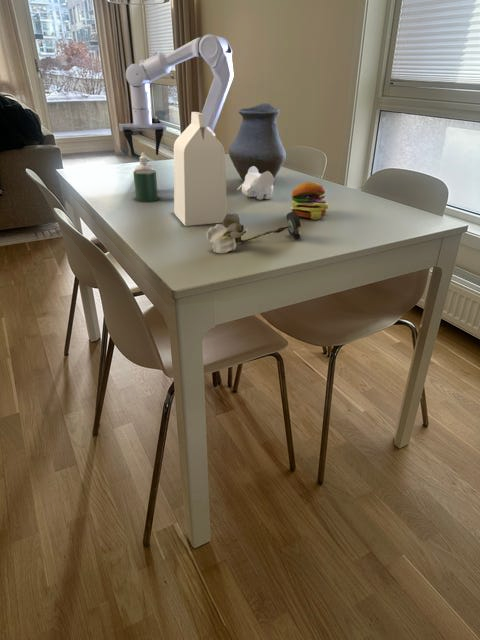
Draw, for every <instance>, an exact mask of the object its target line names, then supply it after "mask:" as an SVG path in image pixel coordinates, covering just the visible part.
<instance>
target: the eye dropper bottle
mask: <svg viewBox="0 0 480 640" xmlns="http://www.w3.org/2000/svg"><path fill="white" fill-rule="evenodd" d="M138 158H139V160H138V161H139V164H138V165H136V166H135V168H134V171H135V170H140V169H151V170H154V167H153V166H152V165H150V164H148V157H147V156H146V155H145V152H141V156H139V157H138Z"/></svg>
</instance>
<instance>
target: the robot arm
mask: <svg viewBox="0 0 480 640" xmlns="http://www.w3.org/2000/svg"><path fill="white" fill-rule="evenodd" d="M193 58H202V59H203V60H204V61H205V62H206V64H207V65H208V67H209V69H210V70H211V73H212V74H213V80H212V82H211V84H210V87H209V90H208V93H207V96H206V99H205V103H204V105H203V108H202V110H201V113H202V114H204V121H205V127H206V128H207V127H209V128H210V129H211V130H212V131H213V132H214V131H215V129H216V125H217V123H218V121H219V117H220V114H221V112H222V109H223V107H224V104H225V101H226V99H227V96H228V93H229V90H230V87H231V85H232V82H233V81H234V80H233V79H234V66H233V49H232V47H231V45H230V42H229V41H228V40H227V39H226V37H224V36H222V35H214V34H212V33H209V34H205V35H203V36H200V37H196V38H195V39H193V40H191V41H189V42H187V43H185V44H183V45H182V46H180V47H178V48H176V49H174V50H172V51H171V52H169V53H167V54H165V53H164V52H158V51H155V52H153V53H152V56H150V57H148V58H146V59H140V60H139V63H138V64H137V63H131V64H130V65H129V66H128V67H127V68H126V70H125V78H126V79H125V80H126V81H127V82H128V84H129V87H130V98H131V99H130V100H131V111H132V122H131V123H129V122H128V123H119V124H118V125H119V127H118V128H119V132H123V135H124V137H125V139H126V141H127V143H128V145H129V149H130V152H131V156H135V150H134V149H135V148H134V143H133V133H132V132H135V131H137V132H138V131H139V132H140V131H141V132H142V131H143V132H145V131H148V132H149V131H151V132H153V131H154V137H155V138H154V139H155V155H156V156H159V152H160V151H159V150H160V145H161V141H162V138H163V136H164V132H167V123H156V122H154V123H153V119H152V106H151V91H150V85H151V83H152V82H153V81H156V80H158V79H160V78H162V77H165V76H166V75H168V74H170V73H171V70H172V67H175V66H176V65H179V64H181V63H183V62H186V61H188V60H191V59H193Z"/></svg>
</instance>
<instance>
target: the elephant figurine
mask: <svg viewBox="0 0 480 640" xmlns="http://www.w3.org/2000/svg"><path fill="white" fill-rule="evenodd" d="M275 182H276V178H275V179H274V177H273V175H272V174H271V173H270V172H269V171H266V172H264V173H262V174H260V173H259V172H258V169H257V168H256V167H255V166H252V167H250V168H249V170H248V173H247V174H246V176H245V181H243V183H241V184H240V186H238V188H237V189H236V191H239V190H240V189H241V193H242V195H244V196H247V197H248V198H256V200H259V201H262V200H264V199H265V200H270V199H271V197H272V195H273V192H274V183H275Z"/></svg>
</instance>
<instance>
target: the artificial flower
mask: <svg viewBox="0 0 480 640" xmlns="http://www.w3.org/2000/svg"><path fill="white" fill-rule="evenodd" d="M285 218H286V221H287V226H283V227H278V229H274V230H270V231H266V232H264V233H260V234H257V235H255V236H252V237H251V238H247V239H242V237H243V236H244V235H245V234H246V233H247V231H248V229H249V227H246V228H245V227H244V225H243V224H241V222H240V221H241V220H240V216H239V214H237V213H232V214H230V213H227V214H226V215H225V218H224V220H223V222H222V223H215V225H214V226H210V227H209V228H208V230H207V231H206V240H207V241H208V242H209V243H213V244H212V249H213V252H214V253H217V254H227V253H228V252H229V251H235V250H236V248H237V244H238V243H239V244H240V243H242V244H243V243H246V242H248V241H252V240H255V239H257V238H260V237H262V236H266V235H269V234H273V233H274V234H276V233H277V234H279V233H282V232H283V231H285V230H287V232H288V234H289V236H290V237H292V238H294V239H297V240H298V239H300V238H301V237H302V234H301V233H299V228H301V227H302V224H301V219H300V216H298V215H297V214H296V212H294V211H292V210H291V212H290V211H289V212H288V213H286V217H285ZM244 228H245V229H244Z"/></svg>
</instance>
